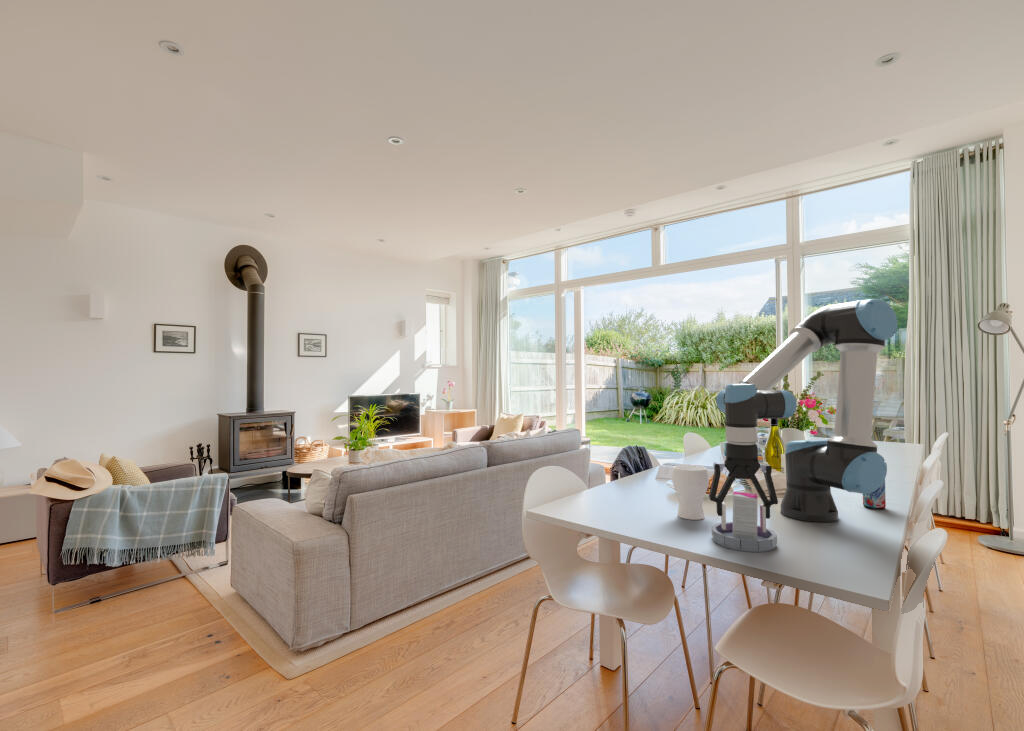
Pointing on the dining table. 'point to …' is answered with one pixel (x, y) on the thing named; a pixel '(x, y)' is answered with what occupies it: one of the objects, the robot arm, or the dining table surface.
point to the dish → (762, 544)
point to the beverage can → (875, 498)
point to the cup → (690, 490)
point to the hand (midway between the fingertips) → (743, 529)
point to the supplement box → (744, 515)
